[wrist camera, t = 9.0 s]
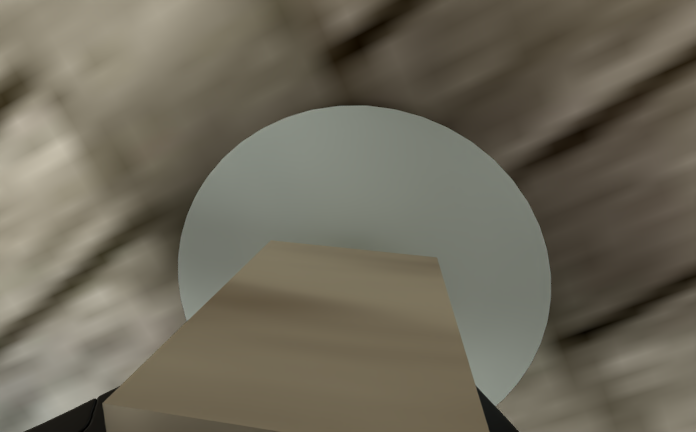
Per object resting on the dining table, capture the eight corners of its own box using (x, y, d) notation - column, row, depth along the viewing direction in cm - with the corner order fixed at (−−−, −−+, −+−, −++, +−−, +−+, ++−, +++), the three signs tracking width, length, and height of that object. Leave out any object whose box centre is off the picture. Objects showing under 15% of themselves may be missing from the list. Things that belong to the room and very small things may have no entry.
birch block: (417, 399, 11) (443, 724, 5) (269, 378, 11) (137, 651, 5) (436, 257, 10) (500, 467, 4) (271, 240, 10) (102, 402, 4)
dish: (502, 444, 14) (512, 474, 13) (203, 399, 15) (187, 421, 14) (573, 119, 11) (594, 118, 10) (187, 96, 12) (165, 93, 11)
